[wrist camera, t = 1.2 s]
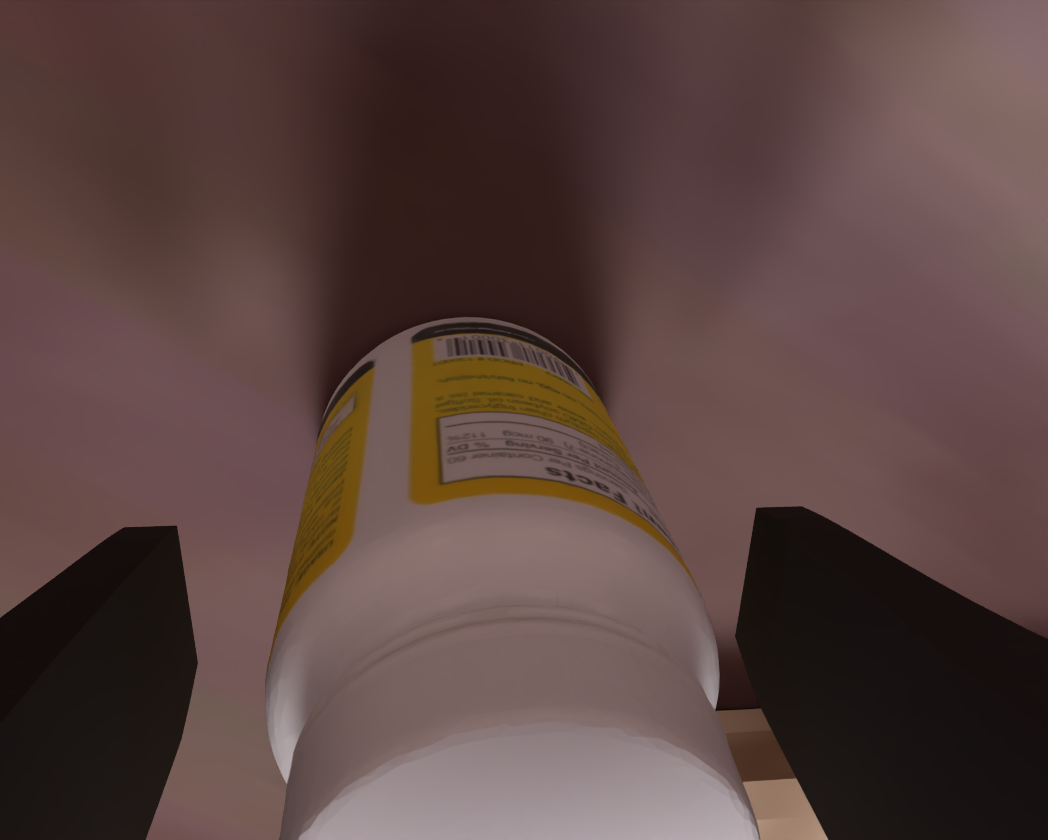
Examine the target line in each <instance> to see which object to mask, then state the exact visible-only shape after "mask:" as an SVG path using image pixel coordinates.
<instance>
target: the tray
mask: <svg viewBox="0 0 1048 840" xmlns="http://www.w3.org/2000/svg"><path fill="white" fill-rule="evenodd" d="M716 713H717V714H718V716H719V718H720V720H721V723H722V725H723V727H724V730H725V733H726V736H727V741H728V745H729V748H730V751H731V753H732V756H733V758H734V761H735V764H736V766H737V769H738V772H739V774H740V777H741V780H742V782H743V785H744V787H745V790H746V792H747V795H748V798H749V800H750V803H751V806H752V809H753V812H754V815H755V818H756V821H757V824H758V828H759V834H760V839H761V840H828V838H827V836H826V835H825V833H824V831H823V829H822V827H821V825H820V823H819V821H818V819H817V817H816V815H815V813H814V811H813V809H812V808H811V806H810V804H809V802H808V800H807V798H806V796H805V794H804V792H803V790H802V788H801V786H800V784H799V782H798V781H797V779H796V777H795V775H794V773H793V771H792V769H791V767H790V765H789V763H788V761H787V759H786V757H785V755H784V753H783V752H782V750H781V748H780V746H779V744H778V742H777V740H776V738H775V736H774V734H773V732H772V730H771V728H770V726H769V724H768V722H767V720H766V718H765V716H764V714H763V712H762V710H761V709H745V710H727V711H716Z"/></svg>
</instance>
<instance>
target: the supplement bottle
mask: <svg viewBox="0 0 1048 840" xmlns="http://www.w3.org/2000/svg"><path fill="white" fill-rule="evenodd" d="M719 677H720V672H719V660H718V649H717V643H716V639H715V634H714V631H713V627H712V624H711V620H710V617H709V615H708V612H707V609H706V606H705V603H704V601H703V599H702V597H701V595H700V593H699V591H698V588H697V586H696V584H695V582H694V580H693V578H692V576H691V573H690V572H689V570H688V568H687V566H686V564H685V562H684V561H683V559H682V557H681V555H680V552H679V550H678V548H677V546H676V544H675V543H674V541H673V539H672V537H671V535H670V532H669V530H668V529H667V527H666V525H665V523H664V521H663V519H662V517H661V515H660V513H659V512H658V509H657V507H656V505H655V503H654V501H653V499H652V497H651V495H650V493H649V492H648V490H647V488H646V486H645V484H644V482H643V480H642V478H641V476H640V474H639V473H638V471H637V469H636V467H635V465H634V463H633V461H632V459H631V457H630V455H629V453H628V451H627V449H626V447H625V445H624V443H623V441H622V439H621V437H620V435H619V433H618V431H617V429H616V427H615V425H614V424H613V422H612V420H611V418H610V416H609V414H608V412H607V410H606V408H605V406H604V404H603V402H602V400H601V398H600V396H599V394H598V392H597V391H596V389H595V387H594V386H593V384H592V382H591V381H590V380H589V378H588V377H587V375H586V374H585V373H584V371H583V370H582V369H581V368H580V366H579V365H578V364H577V363H576V362H575V361H574V360H573V359H572V358H571V357H570V356H569V355H567V354H566V353H565V352H564V351H563V350H562V349H560V348H559V347H558V346H556V345H555V344H553V343H552V342H551V341H549V340H548V339H546V338H544V337H542V336H541V335H539V334H537V333H535V332H533V331H531V330H529V329H527V328H524V327H521V326H518V325H515V324H512V323H508V322H504V321H500V320H495V319H488V318H480V317H458V318H449V319H442V320H437V321H432V322H428V323H425V324H421V325H418V326H415V327H412V328H410V329H407V330H405V331H403V332H401V333H399V334H397V335H395V336H393V337H391V338H390V339H388V340H386V341H384V342H383V343H382V344H380V345H379V346H377V347H376V348H375V349H373V350H372V351H371V352H370V353H368V354H367V355H366V356H365V357H363V358H362V359H361V360H360V361H359V362H358V363H357V364H356V365H355V366H354V367H353V368H352V369H351V370H350V371H349V373H348V374H347V375H346V376H345V378H344V379H343V380H342V382H341V383H340V385H339V386H338V387H337V389H336V391H335V392H334V394H333V396H332V398H331V399H330V401H329V404H328V406H327V408H326V411H325V413H324V416H323V420H322V423H321V426H320V430H319V433H318V438H317V443H316V448H315V452H314V457H313V462H312V466H311V471H310V476H309V480H308V485H307V489H306V494H305V498H304V503H303V508H302V513H301V518H300V522H299V526H298V531H297V535H296V540H295V544H294V549H293V553H292V557H291V561H290V565H289V569H288V576H287V581H286V586H285V590H284V594H283V599H282V603H281V609H280V613H279V617H278V621H277V626H276V630H275V634H274V638H273V644H272V648H271V653H270V657H269V661H268V666H267V673H266V682H265V702H266V721H267V728H268V734H269V739H270V743H271V747H272V751H273V754H274V757H275V759H276V762H277V764H278V767H279V769H280V771H281V774H282V776H283V778H284V780H285V782H286V784H287V789H286V798H285V807H284V812H283V819H282V826H281V832H280V839H279V840H761V839H760V834H759V828H758V824H757V821H756V818H755V815H754V812H753V809H752V806H751V803H750V800H749V798H748V795H747V792H746V790H745V787H744V785H743V782H742V780H741V777H740V774H739V772H738V769H737V766H736V764H735V761H734V758H733V756H732V753H731V751H730V748H729V745H728V741H727V736H726V733H725V730H724V727H723V725H722V723H721V720H720V718H719V716H718V714H717V713H716V711H715V709H716V704H717V699H718V693H719Z"/></svg>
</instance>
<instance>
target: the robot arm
mask: <svg viewBox="0 0 1048 840" xmlns="http://www.w3.org/2000/svg"><path fill="white" fill-rule="evenodd" d="M735 637H736V640H737V643H738V646H739V649H740V652H741V655H742V658H743V661H744V664H745V667H746V670H747V673H748V676H749V679H750V682H751V684H752V687H753V690H754V692H755V695H756V698H757V701H758V703H759V706H760V708H761V710H762V712H763V714H764V716H765V718H766V720H767V722H768V724H769V726H770V728H771V730H772V732H773V734H774V736H775V738H776V740H777V742H778V744H779V746H780V748H781V750H782V752H783V753H784V755H785V757H786V759H787V761H788V763H789V765H790V767H791V769H792V771H793V773H794V775H795V777H796V779H797V781H798V782H799V784H800V786H801V788H802V790H803V792H804V794H805V796H806V798H807V800H808V802H809V804H810V806H811V808H812V809H813V811H814V813H815V815H816V817H817V819H818V821H819V823H820V825H821V827H822V829H823V831H824V833H825V835H826V836H827V838H828V840H1048V639H1046V638H1044V637H1042V636H1040V635H1038V634H1036V633H1033V632H1031V631H1029V630H1027V629H1025V628H1023V627H1021V626H1020V625H1018V624H1016V623H1014V622H1012V621H1010V620H1008V619H1006V618H1004V617H1002V616H1000V615H998V614H996V613H994V612H992V611H990V610H988V609H986V608H985V607H983V606H981V605H979V604H977V603H975V602H973V601H971V600H969V599H968V598H966V597H964V596H962V595H960V594H958V593H957V592H955V591H953V590H951V589H949V588H947V587H946V586H944V585H942V584H940V583H939V582H937V581H935V580H933V579H931V578H930V577H928V576H926V575H924V574H923V573H921V572H919V571H917V570H916V569H914V568H912V567H910V566H909V565H907V564H905V563H904V562H902V561H900V560H898V559H897V558H895V557H893V556H892V555H890V554H888V553H886V552H885V551H883V550H881V549H880V548H878V547H876V546H874V545H873V544H871V543H869V542H868V541H866V540H864V539H862V538H861V537H859V536H857V535H856V534H854V533H852V532H850V531H849V530H847V529H845V528H843V527H841V526H840V525H838V524H836V523H834V522H832V521H831V520H829V519H827V518H825V517H823V516H821V515H819V514H817V513H815V512H813V511H811V510H809V509H806V508H804V507H802V506H797V507H765V508H756V513H755V519H754V525H753V531H752V537H751V544H750V550H749V556H748V562H747V568H746V574H745V580H744V586H743V592H742V598H741V605H740V611H739V617H738V623H737V629H736V635H735ZM197 664H198V661H197V654H196V648H195V641H194V635H193V628H192V621H191V615H190V608H189V602H188V595H187V589H186V582H185V576H184V569H183V562H182V556H181V549H180V543H179V536H178V530H177V526H154V527H124V528H122V529H121V530H119V531H118V532H116V533H114V534H113V535H111V536H110V537H108V538H107V539H106V540H104V541H103V542H101V543H100V544H99V545H97V546H96V547H95V548H93V549H92V550H91V551H89V552H88V553H87V554H85V555H84V556H83V557H81V558H80V559H79V560H77V561H76V562H75V563H73V564H72V565H71V566H69V567H68V568H67V569H65V570H64V571H63V572H61V573H60V574H59V575H57V576H56V577H55V578H53V579H52V580H51V581H49V582H48V583H47V584H45V585H44V586H43V587H41V588H40V589H39V590H37V591H36V592H34V593H33V594H32V595H30V596H29V597H28V598H26V599H25V600H24V601H22V602H21V603H20V604H18V605H17V606H16V607H14V608H13V609H12V610H10V611H9V612H7V613H6V614H5V615H3V616H2V617H1V618H0V840H146V837H147V834H148V831H149V829H150V826H151V823H152V820H153V818H154V815H155V812H156V809H157V807H158V804H159V801H160V798H161V796H162V793H163V790H164V787H165V784H166V781H167V779H168V776H169V773H170V770H171V767H172V765H173V762H174V759H175V756H176V753H177V750H178V747H179V744H180V742H181V739H182V734H183V730H184V726H185V721H186V717H187V712H188V708H189V704H190V699H191V694H192V689H193V684H194V679H195V674H196V669H197Z"/></svg>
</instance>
